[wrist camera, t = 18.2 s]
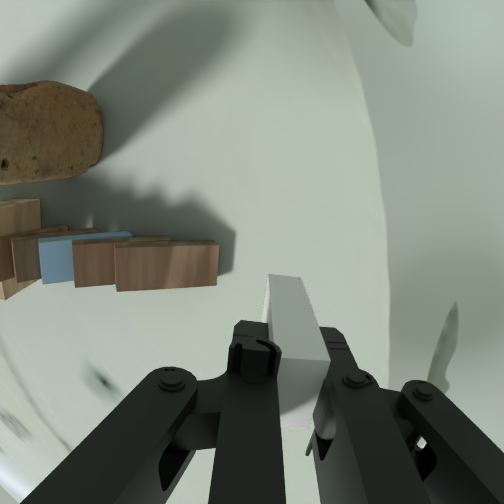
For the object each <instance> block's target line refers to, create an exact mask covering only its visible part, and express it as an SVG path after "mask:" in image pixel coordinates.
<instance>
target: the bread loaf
mask: <svg viewBox="0 0 504 504" xmlns="http://www.w3.org/2000/svg"><path fill="white" fill-rule="evenodd" d="M101 123H102V113H101V109H100V107H99V106H98V105H97V103H96V98H95V97H94V96H93V95H91V94H89V93H87V92H85V91H83V90H80V89H78V88H75V87H72V86H69V85H66V84H63V83H59V82H54V81H48V80H46V81H39V82H33V83H27V84H20V85H13V84H11V85H0V185H7V184H16V183H26V182H34V181H43V180H51V179H60V178H67V177H72V176H75V175H80V174H83V173H85V172H86V171H87V170H88V168H89V167H91V166H93V165H95V164H96V163H97V161H98V159H99V157H100V154H101V149H102V142H103V127H102V124H101Z"/></svg>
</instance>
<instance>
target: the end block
mask: <svg viewBox="0 0 504 504" xmlns="http://www.w3.org/2000/svg"><path fill="white" fill-rule="evenodd" d="M39 228H41V216H40V199H23V198H14V199H9V200H4V201H0V237H1V236H6V235H10V234H15V233H20V232H25V231H29V230H34V229H39ZM37 280H39V279H36V280H31V281H26V282H21V283H17V281H16V279H15V277H14V278H11V279H8V280H5V281H2V282H0V299H2V300H6V299H8V298H9V297H11V296H13V295H14V294H16V293H17V292H19V291H21V290H22V289H24V288H26V287H27V286H29V285H31V284H32V283H34V282H36V281H37Z"/></svg>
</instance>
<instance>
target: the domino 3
mask: <svg viewBox="0 0 504 504" xmlns="http://www.w3.org/2000/svg"><path fill="white" fill-rule="evenodd" d="M123 237H132V234H130V233H129V232H128V231H120V232H107V233H94V234H82V235H71V236H59V237H48V238H38V240H39V255H40V266H41V275H42V282H43V284H50V283H58V282H66V281H74V270H73V255H72V240H85V239H103V238H123Z"/></svg>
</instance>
